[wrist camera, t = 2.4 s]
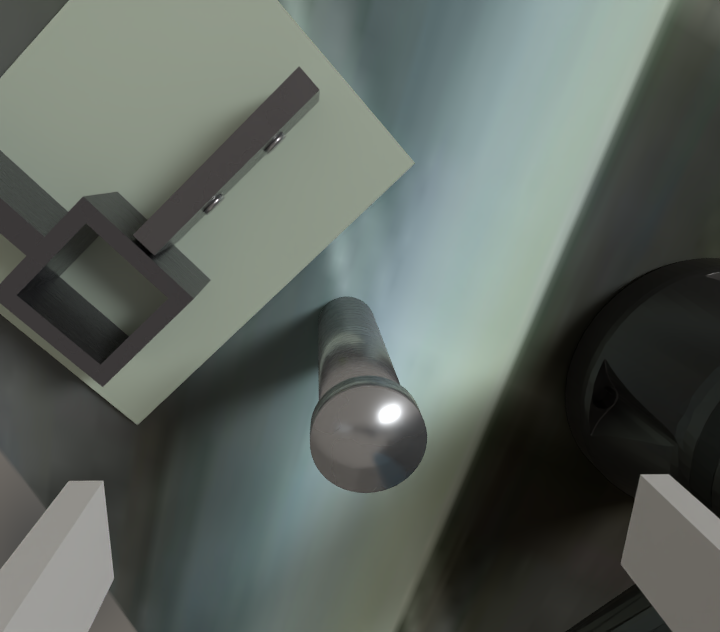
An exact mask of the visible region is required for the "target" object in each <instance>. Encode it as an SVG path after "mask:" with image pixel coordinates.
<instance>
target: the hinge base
mask: <svg viewBox="0 0 720 632" xmlns="http://www.w3.org/2000/svg"><path fill="white" fill-rule="evenodd" d="M146 221H147V219H146V218H145V217H144V216H143V215H142V214H141V213H140V212H139V211H137V210H136V209H135V208H134V207H133V206H132V205H131V204H130V203H129V202H128V201H127V200H126V199H125V198H124V197H123V196H122V195H121V194H120V193H118V192H111V193H104V194H96V195H89V196H83V197H82V198H81V199H80V200H79V201H78V202H77V203H76V204H75V205H74V206H73V207H72V208H71V210H70V211H69V212H68V211H67V210H66V209H65V208H63V207H62V206H61V205H60V204H59V203H58V202H57V201H56V200H55V199H54V198H52V197H51V196H50V195H49V194H48V193H47V192H46V191H45V190H44V189H43V188H41V187H40V186H39V185H38V184H37V183H36V182H35V181H34V180H33V179H32V178H30V177H29V176H28V175H27V174H26V173H25V172H24V171H23V170H22V169H20V168H19V167H18V166H17V165H16V164H15V163H14V162H13V161H12V160H11V159H9V158H8V157H7V156H6V155H5V154H4V153H3V152H2V151H1V150H0V234H2V235H3V236H4V237H5V238H6V239H7V240H9V241H10V242H11V243H12V244H13V245H14V246H16V247H17V248H18V249H19V250H20V251H21V252H23V253H24V254H25V255H26V257H25V258H24V259H23V260H22V261H21V262H20V263H19V264H18V265H17V266H16V267H15V268H14V269H13V270H12V272H11V273H10V274H9V275H8V276H7V277H6V278H5V279H4V280H3V281H2V282H1V283H0V304H2V305H3V306H4V307H5V308H6V309H8V310H9V311H10V312H11V313H13V314H14V315H15V316H16V317H17V318H19V319H20V320H21V321H22V322H24V323H25V324H26V325H27V326H28V327H30V328H31V329H32V330H33V331H35V332H36V333H37V334H38V335H39V336H41V337H42V338H43V339H44V340H46V341H47V342H48V343H49V344H50V345H52V346H53V347H54V348H55V349H57V350H58V351H59V352H60V353H61V354H63V355H64V356H65V357H66V358H68V359H69V360H70V361H71V362H72V363H74V364H75V365H76V366H77V367H79V368H80V369H81V370H82V371H83V372H85V373H86V374H87V375H88V376H90V377H91V378H92V379H93V380H94V381H96V382H97V383H98V384H99V385H101V386H102V387H103V386H105V385H106V384H107V383H108V382H109V381H110V380H111V379H112V378H113V377H114V376H115V375H116V374H117V373H118V372H119V371H120V370H121V369H122V368H123V367H124V366H125V365H126V364H127V363H128V362H129V361H130V360H131V359H132V358H133V357H134V356H135V355H136V354H137V353H139V352H140V351H141V350H142V349H143V348H144V347H145V346H146V345H147V344H148V343H149V342H150V341H151V340H152V339H153V338H154V337H155V336H156V335H157V334H158V333H159V332H160V331H161V330H162V329H163V328H164V327H165V326H166V325H167V324H168V323H169V322H170V321H171V320H173V319H174V318H175V317H176V316H177V315H178V314H179V313H180V312H181V311H182V310H183V309H184V308H185V307H186V306H187V305H188V304H189V303H190V302H191V301H192V300H193V299H194V298H195V297H196V296H197V295H198V294H199V293H200V292H201V290H202V289H203V288H204V287H205V286H206V285H207V284H208V283H209V282H210V281H211V280H210V279H209V278H208V277H207V276H206V275H205V274H204V273H203V272H202V271H201V270H200V269H199V268H198V267H197V266H196V265H195V264H193V263H192V262H191V261H190V260H189V259H188V258H187V257H186V256H185V255H184V254H183V253H182V252H181V251H180V250H179V249H178V248H177V247H176V246H174V245H172V246H170V247H168V248H166V249H165V250H163V251H161V252H159V253H158V254H156V255H154V254H152V253H151V252H150V251H149V250H148V249H147V248H146V247H145V246H144V245H143V244H142V243H141V242H140V241H138V240H137V239H136V238H135V237H134V236H133V234H134V233H135V232H136V231H137V230H138V229H139V228H140V227H141V226H142V225H143V224H144V223H145V222H146ZM98 236H100V237H102V238H103V239H104V240H105V241H106V242H107V243H108V244H109V245H110V246H111V247H113V248H114V249H115V250H116V251H117V252H118V253H119V254H120V255H121V256H122V257H124V258H125V259H126V260H127V261H128V262H129V263H130V264H131V265H132V266H133V267H135V268H136V269H137V270H138V271H139V272H140V273H141V274H142V275H143V276H144V277H145V278H147V279H148V280H149V281H150V282H151V283H152V284H153V285H154V286H155V287H156V288H158V289H159V290H160V291H161V292H162V293H163V294H164V295H165V296H166V297H167V298H168V299H167V300H166V301H165V302H164V303H163V304H162V305H161V306H160V307H159V308H158V309H157V310H156V311H155V312H154V313H153V314H152V315H151V316H150V317H149V318H148V319H147V320H146V321H145V322H144V323H143V324H141V325H140V326H139V327H138V328H137V329H136V330H135V331H134V332H133V333H132V334H131V335H130V336H128V335H127V334H125V333H124V332H123V331H122V330H121V329H120V328H118V327H117V326H116V325H115V324H114V323H113V322H112V321H110V320H109V319H108V318H107V317H106V316H105V315H103V314H102V313H101V312H100V311H99V310H98V309H96V308H95V307H94V306H93V305H92V304H91V303H90V302H88V301H87V300H86V299H85V298H84V297H83V296H81V295H80V294H79V293H78V292H77V291H76V290H74V289H73V288H72V287H71V286H70V285H69V284H68V283H66V282H65V281H64V280H63V279H62V278H61V277H60V276H61V275H62V273H63V272H64V271H65V270H66V269H67V268H68V267H69V266H70V265H71V264H72V263H73V262H74V261H75V260H76V259H77V258H78V257H79V256H80V255H81V254H82V253H83V252H84V251H85V250H86V249H87V248H88V247H89V246H90V245H91V244H92V243H93V242H94V241H95V240H96V238H97V237H98Z"/></svg>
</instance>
